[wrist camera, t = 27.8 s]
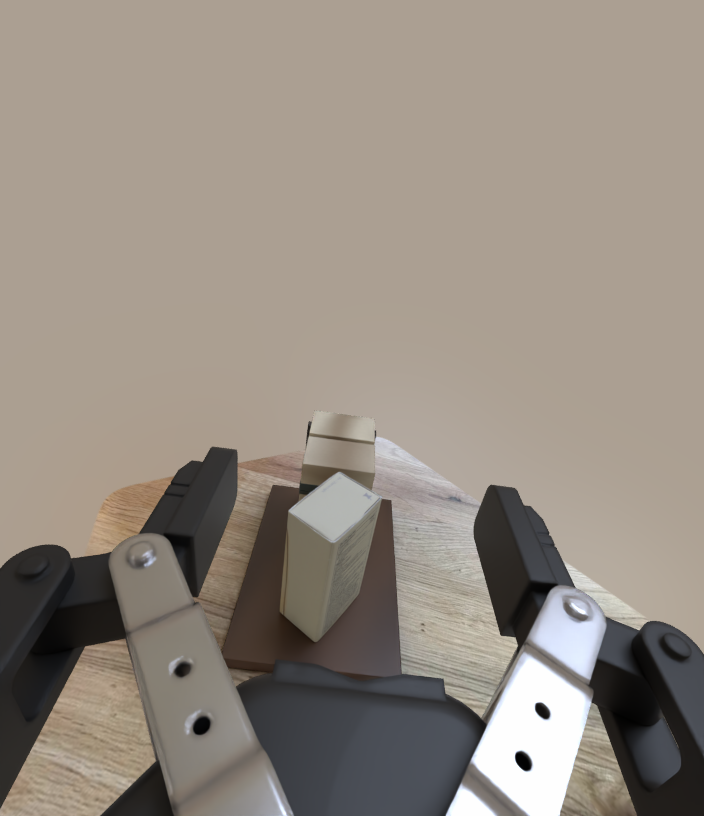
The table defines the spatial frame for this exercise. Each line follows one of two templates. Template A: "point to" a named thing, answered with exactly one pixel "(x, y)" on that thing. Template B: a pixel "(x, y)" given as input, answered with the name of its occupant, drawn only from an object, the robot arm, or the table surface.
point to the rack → (261, 591)
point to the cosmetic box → (327, 553)
